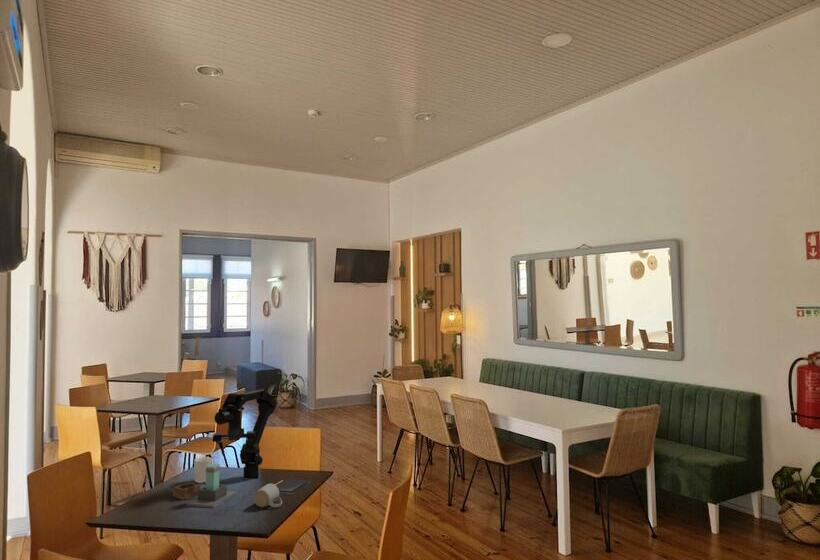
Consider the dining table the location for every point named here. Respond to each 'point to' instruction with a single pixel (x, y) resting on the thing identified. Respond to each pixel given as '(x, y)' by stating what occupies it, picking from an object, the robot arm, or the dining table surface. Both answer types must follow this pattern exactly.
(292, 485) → the grey flat slab
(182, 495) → the holster
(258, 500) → the ceramic mug
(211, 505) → the port board
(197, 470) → the white cup
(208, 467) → the plug
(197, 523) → the dining table surface
